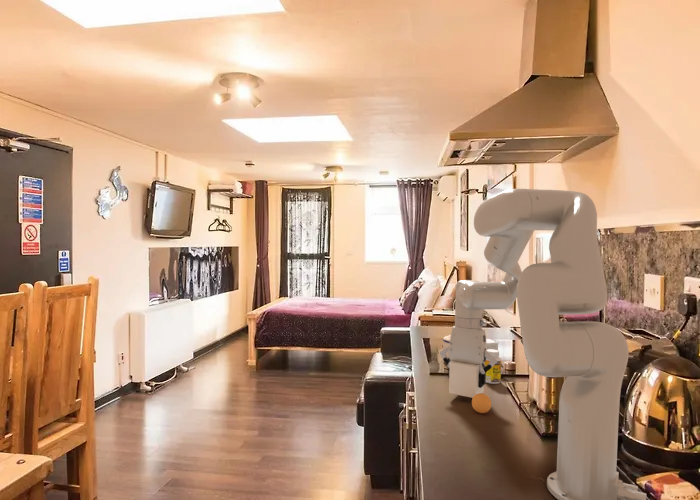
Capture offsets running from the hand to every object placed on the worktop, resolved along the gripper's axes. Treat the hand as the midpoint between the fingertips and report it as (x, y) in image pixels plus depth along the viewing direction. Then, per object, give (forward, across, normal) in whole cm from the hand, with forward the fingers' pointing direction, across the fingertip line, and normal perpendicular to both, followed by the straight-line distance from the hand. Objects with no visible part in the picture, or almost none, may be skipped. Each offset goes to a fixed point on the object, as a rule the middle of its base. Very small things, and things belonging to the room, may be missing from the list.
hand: (466, 383), depth 128 cm
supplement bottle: (+4, -2, -20) cm, 21 cm away
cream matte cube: (+3, 0, 0) cm, 3 cm away
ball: (+2, -7, +8) cm, 10 cm away
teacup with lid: (+4, +16, -35) cm, 39 cm away
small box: (+4, +4, -31) cm, 32 cm away
